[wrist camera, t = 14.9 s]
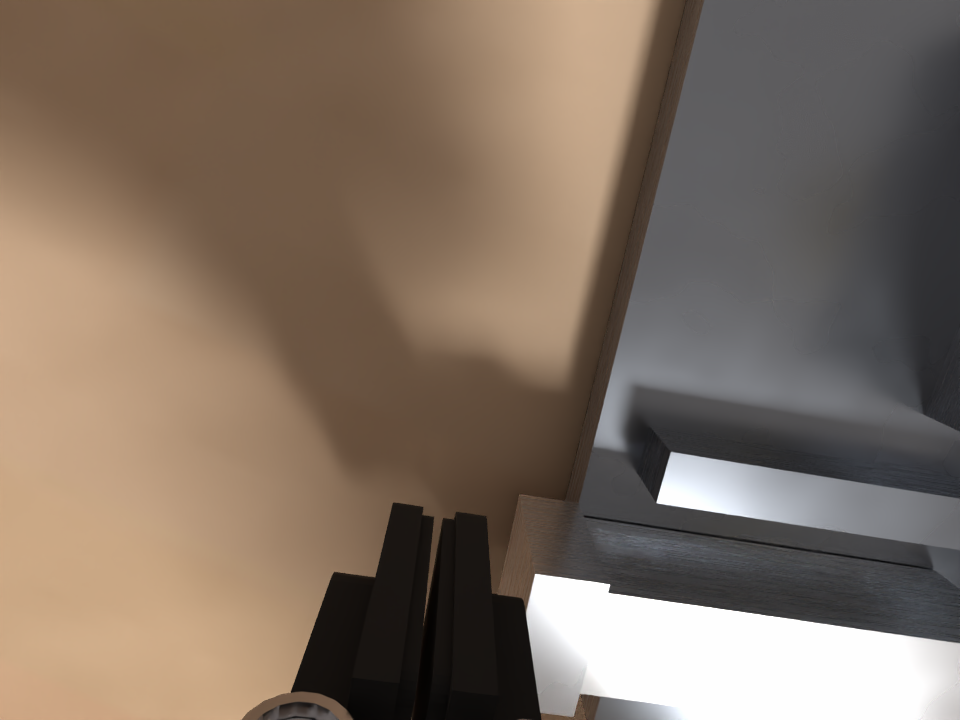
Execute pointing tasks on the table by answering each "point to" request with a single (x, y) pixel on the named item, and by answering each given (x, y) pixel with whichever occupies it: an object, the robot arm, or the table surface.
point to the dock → (791, 295)
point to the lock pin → (727, 623)
